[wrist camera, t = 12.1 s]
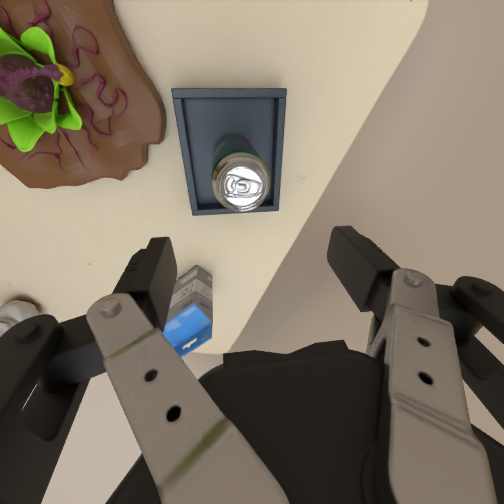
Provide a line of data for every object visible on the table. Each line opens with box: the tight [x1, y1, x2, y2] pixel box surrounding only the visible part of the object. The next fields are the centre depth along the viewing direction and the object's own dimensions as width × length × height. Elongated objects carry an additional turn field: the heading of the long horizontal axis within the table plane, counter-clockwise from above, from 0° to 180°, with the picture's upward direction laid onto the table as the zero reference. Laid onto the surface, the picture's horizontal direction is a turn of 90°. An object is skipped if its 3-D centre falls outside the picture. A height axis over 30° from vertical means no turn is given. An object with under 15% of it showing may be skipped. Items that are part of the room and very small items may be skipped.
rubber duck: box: [0, 300, 39, 337], centre depth 34 cm, size 5×7×8 cm
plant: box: [0, 0, 166, 189], centre depth 18 cm, size 20×20×11 cm
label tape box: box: [162, 266, 213, 357], centre depth 34 cm, size 9×4×12 cm, turn 128°
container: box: [171, 88, 287, 216], centre depth 27 cm, size 14×12×3 cm
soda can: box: [211, 134, 271, 212], centre depth 23 cm, size 5×5×12 cm
